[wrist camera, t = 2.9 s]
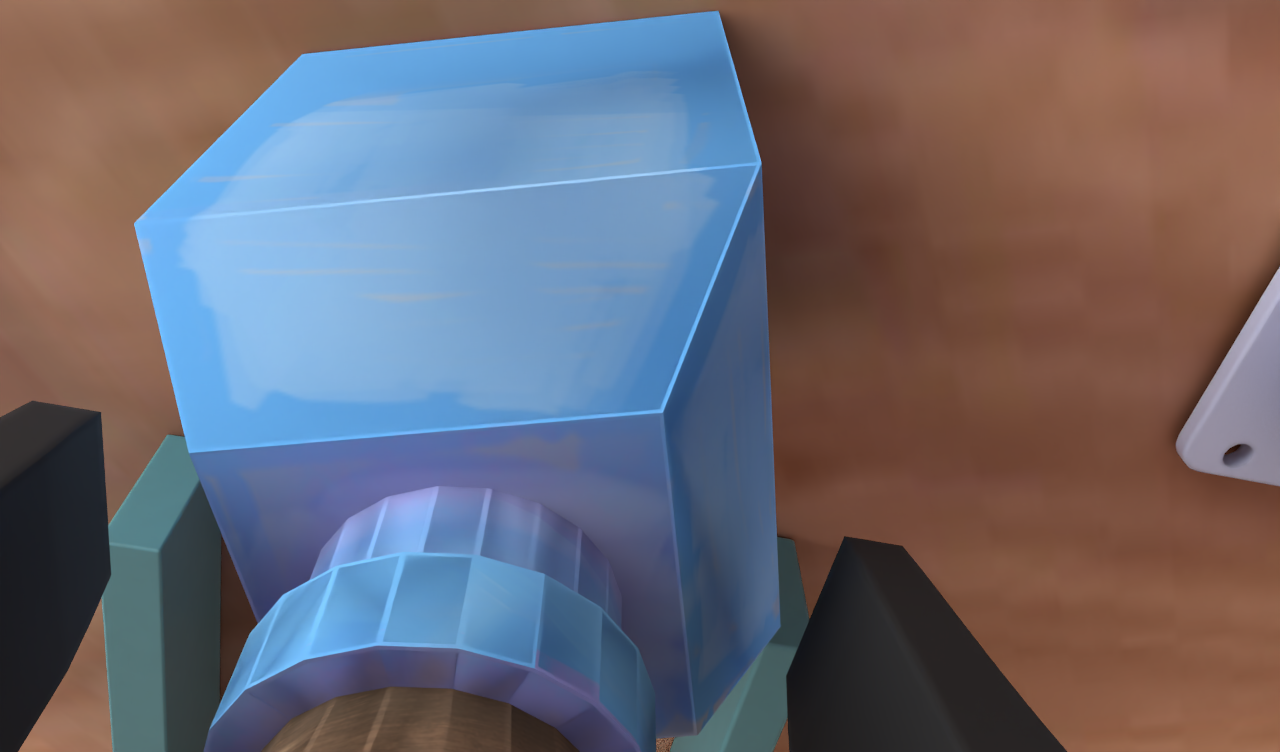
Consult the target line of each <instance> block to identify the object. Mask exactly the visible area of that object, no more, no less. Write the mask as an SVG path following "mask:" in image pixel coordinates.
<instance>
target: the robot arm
mask: <svg viewBox="0 0 1280 752" xmlns="http://www.w3.org/2000/svg"><path fill="white" fill-rule="evenodd" d="M1238 444H1241V446H1240V447H1239V448H1238V449H1237V450H1236V451H1234V452H1232V453H1230V454H1224V453H1225V452H1226V451H1227V450H1228V449H1229V448H1231V447H1233V446H1235V445H1238ZM1176 451H1177V453H1178V454H1179V456H1180V457H1181V458H1182V460H1183V461H1184V462H1185V464H1186V465H1187V466H1188V467H1189V468H1191V469H1193V470H1196V471H1198V472H1204V473H1209V474H1215V475H1220V476H1226V477H1231V478H1237V479H1242V480H1247V481H1253V482H1258V483H1264V484H1269V485H1275V486H1280V267H1279V268H1278V270H1277V272H1276V273H1275V275H1274V277H1273V278H1272V280H1271V282H1270V283H1269V285H1268V287H1267V288H1266V290H1265V292H1264V293H1263V295H1262V297H1261V298H1260V300H1259V302H1258V303H1257V305H1256V307H1255V308H1254V310H1253V312H1252V313H1251V315H1250V317H1249V318H1248V320H1247V322H1246V323H1245V325H1244V327H1243V328H1242V330H1241V332H1240V334H1239V335H1238V337H1237V339H1236V340H1235V342H1234V344H1233V345H1232V347H1231V349H1230V350H1229V352H1228V354H1227V355H1226V357H1225V359H1224V360H1223V362H1222V364H1221V365H1220V367H1219V369H1218V370H1217V372H1216V374H1215V375H1214V377H1213V379H1212V380H1211V382H1210V384H1209V385H1208V387H1207V389H1206V390H1205V392H1204V394H1203V395H1202V397H1201V399H1200V400H1199V402H1198V404H1197V405H1196V407H1195V409H1194V410H1193V412H1192V414H1191V415H1190V417H1189V419H1188V420H1187V422H1186V424H1185V425H1184V427H1183V429H1182V430H1181V432H1180V434H1179V436H1178V438H1177V441H1176ZM110 577H111V563H110V547H109V531H108V516H107V500H106V485H105V469H104V453H103V438H102V422H101V412H96V411H90V410H84V409H78V408H72V407H66V406H60V405H54V404H48V403H42V402H36V401H31V402H29V403H27V404H25V405H23V406H21V407H19V408H17V409H15V410H13V411H11V412H10V413H8V414H6V415H4V416H2V417H0V752H18V751H19V749H20V747H21V746H22V744H23V743H24V741H25V739H26V738H27V736H28V734H29V733H30V731H31V730H32V728H33V726H34V725H35V723H36V722H37V720H38V718H39V717H40V715H41V713H42V712H43V710H44V709H45V707H46V705H47V704H48V702H49V700H50V699H51V697H52V696H53V694H54V692H55V691H56V689H57V687H58V686H59V684H60V682H61V681H62V679H63V677H64V676H65V674H66V672H67V671H68V669H69V667H70V664H71V662H72V660H73V658H74V656H75V654H76V652H77V650H78V648H79V646H80V643H81V641H82V639H83V637H84V635H85V633H86V631H87V629H88V627H89V624H90V622H91V620H92V617H93V615H94V613H95V611H96V608H97V606H98V604H99V602H100V599H101V597H102V595H103V593H104V590H105V588H106V586H107V584H108V581H109V579H110ZM786 687H787V714H788V735H789V751H790V752H1067V751H1066V750H1065V749H1064V747H1063V746H1062V745H1061V744H1060V743H1059V742H1058V740H1057V739H1056V738H1055V737H1054V736H1053V734H1052V733H1051V732H1050V731H1049V730H1048V729H1047V727H1046V726H1045V725H1044V724H1043V723H1042V721H1041V720H1040V719H1039V718H1038V717H1037V715H1036V714H1035V713H1034V712H1033V711H1032V709H1031V708H1030V707H1029V706H1028V705H1027V703H1026V702H1025V701H1024V700H1023V698H1022V697H1021V696H1020V695H1019V693H1018V692H1017V691H1016V690H1015V688H1014V687H1013V686H1012V685H1011V683H1010V682H1009V681H1008V680H1007V679H1006V677H1005V676H1004V675H1003V674H1002V672H1001V671H1000V670H999V668H998V667H997V666H996V665H995V663H994V662H993V661H992V660H991V658H990V657H989V656H988V655H987V653H986V652H985V651H984V649H983V648H982V647H981V646H980V644H979V643H978V642H977V640H976V639H975V638H974V637H973V635H972V634H971V633H970V631H969V630H968V629H967V628H966V626H965V625H964V624H963V622H962V621H961V620H960V619H959V617H958V616H957V615H956V613H955V612H954V611H953V609H952V608H951V607H950V606H949V604H948V603H947V602H946V600H945V599H944V598H943V596H942V595H941V594H940V593H939V591H938V590H937V589H936V587H935V586H934V585H933V584H932V582H931V581H930V580H929V578H928V577H927V576H926V575H925V573H924V572H923V571H922V570H921V568H920V567H919V566H918V565H917V563H916V562H915V561H914V560H913V558H912V557H911V556H910V555H909V554H908V552H907V551H906V550H905V549H904V548H903V546H899V545H893V544H887V543H881V542H875V541H869V540H863V539H857V538H851V537H845V536H844V539H843V541H842V544H841V546H840V548H839V551H838V553H837V555H836V558H835V560H834V563H833V565H832V567H831V570H830V572H829V575H828V577H827V579H826V582H825V584H824V586H823V589H822V591H821V594H820V596H819V598H818V601H817V603H816V606H815V608H814V610H813V613H812V615H811V618H810V620H809V622H808V625H807V627H806V629H805V632H804V634H803V637H802V639H801V641H800V644H799V646H798V649H797V651H796V653H795V656H794V658H793V660H792V663H791V665H790V668H789V670H788V672H787V675H786Z"/></svg>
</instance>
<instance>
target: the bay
mask: <svg viewBox="0 0 1280 752" xmlns="http://www.w3.org/2000/svg"><path fill="white" fill-rule="evenodd" d="M108 531H109V547H110V563H111V577H110V579H109V581H108V584H107V586H106V588H105V590H104V593H103V595H102V608H103V622H104V635H105V649H106V663H107V677H108V691H109V705H110V719H111V733H112V746H113V752H203V751H204V747H205V743H206V739H207V736H208V732H209V729H210V726H211V724H212V722H213V719H214V717H215V715H216V712H217V710H218V708H219V705H220V605H221V531H220V529H219V526H218V524H217V521H216V519H215V517H214V514H213V512H212V509H211V507H210V504H209V502H208V499H207V497H206V494H205V492H204V489H203V487H202V484H201V482H200V480H199V477H198V475H197V472H196V470H195V467H194V465H193V462H192V460H191V457H190V455H189V452H188V448H187V443H186V439H185V437H182V436H176V435H167V436H166V438H165V439H164V441H163V442H162V444H161V445H160V447H159V449H158V450H157V452H156V453H155V455H154V456H153V458H152V459H151V461H150V462H149V464H148V465H147V467H146V468H145V470H144V472H143V473H142V475H141V476H140V478H139V479H138V481H137V482H136V484H135V485H134V487H133V488H132V490H131V491H130V493H129V495H128V496H127V498H126V499H125V501H124V502H123V504H122V505H121V507H120V508H119V510H118V511H117V513H116V514H115V516H114V518H113V519H112V521H111V522H110V524H109V525H108ZM777 551H778V575H779V599H780V624H781V627H780V628H779V629H778V631H777V632H776V633H775V635H774V636H773V637H772V639H771V640H770V641H769V643H768V644H767V645H766V646H765V648H764V649H763V650H762V652H761V653H760V654H759V656H758V657H757V658H756V660H755V661H754V662H753V664H752V665H751V666H750V667H749V669H748V670H747V671H746V673H745V674H744V675H743V677H742V678H741V679H740V681H739V682H738V683H737V684H736V686H735V687H734V688H733V690H732V691H731V692H730V694H729V695H728V696H727V698H726V699H725V700H724V701H723V703H722V704H721V705H720V707H719V708H718V709H717V711H716V712H715V713H714V715H713V716H712V717H711V718H710V720H709V721H708V722H707V724H706V725H705V726H704V728H703V729H702V730H701V732H700V733H699V734H698V735H697V736H684V737H675V738H674V741H673V743H672V746H671V749H670V752H773V751H774V748H775V746H776V744H777V741H778V739H779V737H780V734H781V732H782V730H783V727H784V725H785V723H786V721H787V718H788V714H787V687H786V675H787V672H788V670H789V668H790V665H791V663H792V660H793V658H794V656H795V653H796V651H797V649H798V646H799V644H800V641H801V639H802V637H803V634H804V632H805V629H806V627H807V625H808V622H809V615H808V609H807V604H806V599H805V594H804V589H803V584H802V578H801V573H800V568H799V563H798V558H797V552H796V547H795V542H794V541H793V540H791V539H787V538H781V537H777Z"/></svg>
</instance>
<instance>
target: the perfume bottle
mask: <svg viewBox="0 0 1280 752" xmlns="http://www.w3.org/2000/svg"><path fill="white" fill-rule="evenodd" d="M134 225H135V229H136V234H137V238H138V242H139V246H140V250H141V255H142V259H143V263H144V267H145V271H146V276H147V280H148V284H149V288H150V292H151V297H152V301H153V305H154V309H155V313H156V318H157V322H158V326H159V330H160V334H161V339H162V343H163V347H164V351H165V355H166V360H167V364H168V368H169V372H170V376H171V381H172V385H173V389H174V393H175V397H176V402H177V406H178V410H179V414H180V418H181V423H182V427H183V431H184V435H185V439H186V443H187V448H188V452H189V455H190V457H191V460H192V462H193V465H194V467H195V470H196V472H197V475H198V477H199V480H200V482H201V484H202V487H203V489H204V492H205V494H206V497H207V499H208V502H209V504H210V507H211V509H212V512H213V514H214V517H215V519H216V521H217V524H218V526H219V529H220V531H221V534H222V536H223V539H224V541H225V544H226V546H227V549H228V551H229V554H230V556H231V558H232V561H233V563H234V566H235V568H236V571H237V573H238V576H239V578H240V581H241V583H242V586H243V588H244V591H245V593H246V595H247V598H248V600H249V603H250V605H251V608H252V610H253V613H254V615H255V618H256V620H257V623H258V625H257V626H256V627H255V628H254V629H253V630H252V631H251V633H250V634H249V636H248V639H247V641H246V643H245V646H244V648H243V651H242V653H241V655H240V658H239V660H238V662H237V665H236V667H235V670H234V672H233V674H232V677H231V679H230V681H229V684H228V686H227V689H226V691H225V693H224V696H223V698H222V700H221V703H220V705H219V708H218V710H217V712H216V715H215V717H214V719H213V722H212V724H211V726H210V729H209V732H208V736H207V739H206V743H205V747H204V751H203V752H656V738H670V737H684V736H697V735H698V734H699V733H700V732H701V730H702V729H703V728H704V726H705V725H706V724H707V722H708V721H709V720H710V718H711V717H712V716H713V715H714V713H715V712H716V711H717V709H718V708H719V707H720V705H721V704H722V703H723V701H724V700H725V699H726V698H727V696H728V695H729V694H730V692H731V691H732V690H733V688H734V687H735V686H736V684H737V683H738V682H739V681H740V679H741V678H742V677H743V675H744V674H745V673H746V671H747V670H748V669H749V667H750V666H751V665H752V664H753V662H754V661H755V660H756V658H757V657H758V656H759V654H760V653H761V652H762V650H763V649H764V648H765V646H766V645H767V644H768V643H769V641H770V640H771V639H772V637H773V636H774V635H775V633H776V632H777V631H778V629H779V628H780V627H781V624H780V599H779V575H778V551H777V526H776V502H775V478H774V453H773V429H772V404H771V380H770V356H769V331H768V307H767V282H766V258H765V234H764V209H763V185H762V162H761V159H760V155H759V152H758V148H757V145H756V141H755V138H754V134H753V131H752V127H751V124H750V120H749V117H748V113H747V110H746V106H745V103H744V99H743V96H742V92H741V89H740V85H739V82H738V78H737V75H736V71H735V67H734V64H733V60H732V57H731V53H730V50H729V46H728V43H727V39H726V36H725V32H724V29H723V25H722V22H721V18H720V15H719V11H711V12H702V13H692V14H682V15H673V16H663V17H654V18H644V19H634V20H625V21H615V22H606V23H596V24H586V25H577V26H567V27H558V28H548V29H538V30H529V31H519V32H510V33H500V34H490V35H481V36H471V37H462V38H452V39H442V40H433V41H423V42H414V43H404V44H394V45H385V46H375V47H366V48H356V49H346V50H337V51H327V52H318V53H308V54H302V55H301V56H300V57H299V58H298V59H297V60H296V61H295V62H294V63H293V64H292V65H291V66H290V67H289V68H288V69H287V70H286V71H285V72H284V73H283V74H282V75H281V76H280V77H279V78H278V79H277V80H276V81H275V82H274V83H273V84H272V85H271V86H270V87H269V88H268V89H267V90H266V91H265V92H264V93H263V94H262V95H261V96H260V97H259V98H258V99H257V100H256V101H255V102H254V103H253V104H252V105H251V106H250V107H249V108H248V109H247V110H246V111H245V112H244V113H243V114H242V115H241V116H240V117H239V118H238V119H237V120H236V121H235V122H234V123H233V124H232V125H231V126H230V127H229V128H228V130H227V131H226V132H225V133H224V134H223V135H222V136H221V137H220V138H219V139H218V140H217V141H216V142H215V143H214V144H213V145H212V146H211V147H210V148H209V149H208V150H207V151H206V152H205V153H204V154H203V155H202V156H201V157H200V158H199V159H198V160H197V161H196V162H195V163H194V164H193V165H192V166H191V167H190V168H189V169H188V170H187V171H186V172H185V173H184V174H183V175H182V176H181V177H180V178H179V179H178V180H177V181H176V182H175V183H174V184H173V185H172V186H171V187H170V188H169V189H168V190H167V191H166V192H165V193H164V194H163V195H162V196H161V197H160V198H159V199H158V200H157V201H156V202H155V203H154V204H153V205H152V206H151V207H150V208H149V209H148V210H147V211H146V212H145V213H144V214H143V215H142V216H141V217H140V218H139V219H138V220H137V221H136V222H135V223H134Z"/></svg>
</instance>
